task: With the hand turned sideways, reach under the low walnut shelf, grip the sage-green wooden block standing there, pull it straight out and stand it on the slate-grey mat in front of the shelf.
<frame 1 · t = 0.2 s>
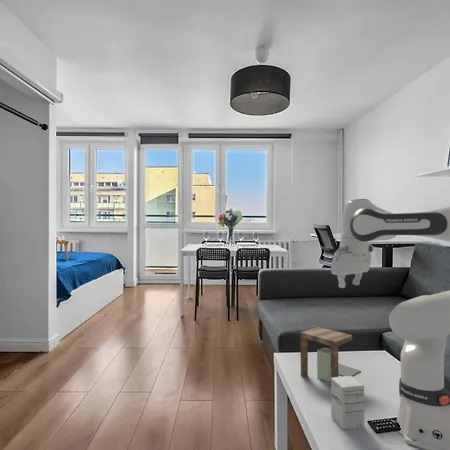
hand: (349, 286, 122), 40 cm above the table, tool pointing down, fingers open, 8 cm apart
sage block: (326, 377, 141), on the table
shelf stand: (326, 377, 141), on the table
slate mat: (341, 370, 148), on the table
supplement box: (347, 422, 109), on the table
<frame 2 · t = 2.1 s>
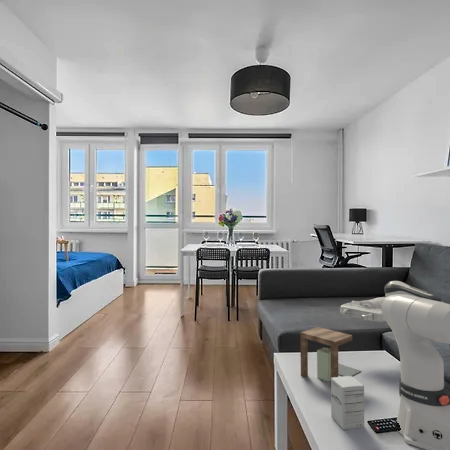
hand: (353, 315, 153), 22 cm above the table, tool horizontal, fingers open, 8 cm apart
nothing on the table moved.
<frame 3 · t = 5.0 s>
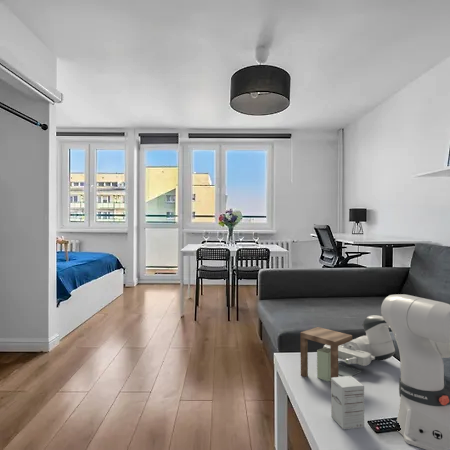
hand: (336, 358, 147), 6 cm above the table, tool horizontal, fingers open, 8 cm apart
nothing on the table moved.
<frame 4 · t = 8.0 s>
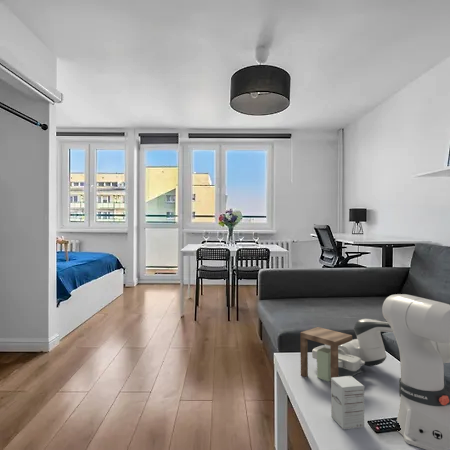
hand: (324, 363, 141), 6 cm above the table, tool horizontal, fingers closed on sage block, 5 cm apart
sage block: (326, 377, 141), on the table, touching gripper
everything else where it was.
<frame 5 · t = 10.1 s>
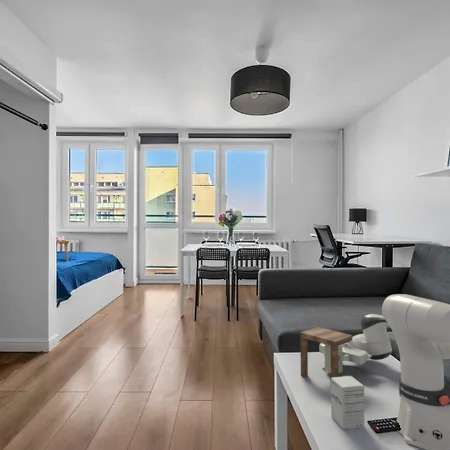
hand: (332, 357, 144), 7 cm above the table, tool horizontal, fingers closed on sage block, 5 cm apart
sage block: (333, 371, 145), point 1 cm above the table, touching gripper
everything else where it was.
when the fingers open (7 cm above the table, at t = 12.3 s): sage block stays where it is, resting on slate mat.
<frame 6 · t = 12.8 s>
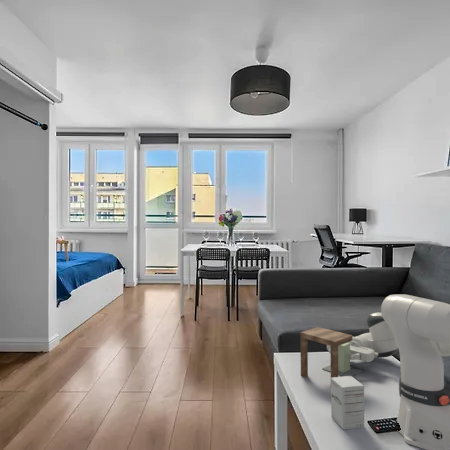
hand: (340, 354, 148), 7 cm above the table, tool horizontal, fingers open, 8 cm apart
sage block: (341, 369, 148), resting on slate mat
everything else where it was.
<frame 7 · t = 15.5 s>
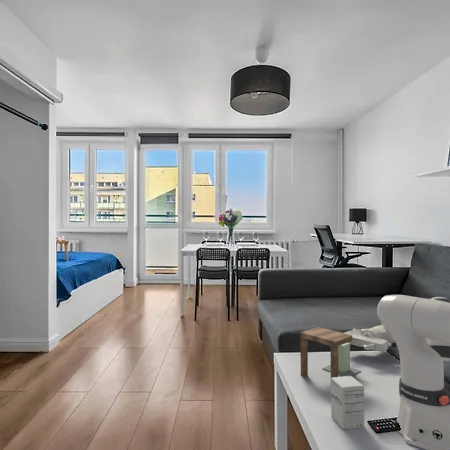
hand: (355, 345, 156), 8 cm above the table, tool horizontal, fingers open, 8 cm apart
nothing on the table moved.
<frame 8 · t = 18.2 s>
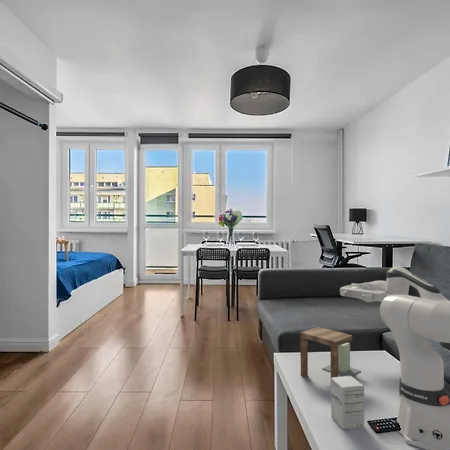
hand: (353, 295, 155), 30 cm above the table, tool horizontal, fingers open, 8 cm apart
nothing on the table moved.
at the end: sage block inside the target area on the slate mat (0.0 cm from its centre), point 0.4 cm above the slate mat's base; sage block tilted 0°; the gripper is holding nothing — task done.
